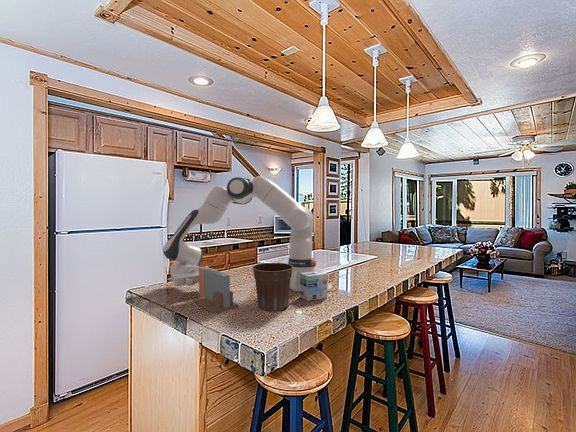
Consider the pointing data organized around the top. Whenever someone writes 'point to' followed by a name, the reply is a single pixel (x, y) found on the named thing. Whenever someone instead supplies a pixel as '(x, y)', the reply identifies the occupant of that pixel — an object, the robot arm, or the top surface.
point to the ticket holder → (217, 292)
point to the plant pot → (272, 285)
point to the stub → (202, 281)
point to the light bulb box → (313, 285)
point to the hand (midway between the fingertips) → (203, 280)
